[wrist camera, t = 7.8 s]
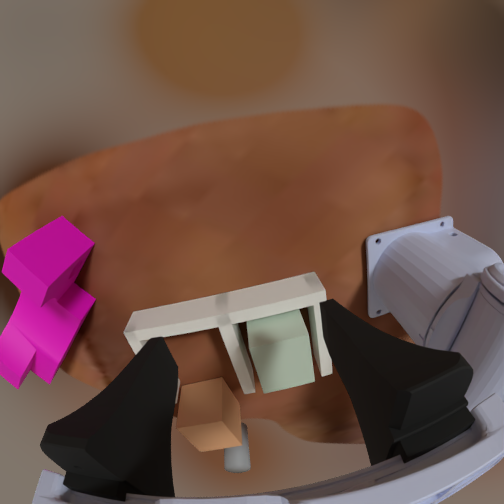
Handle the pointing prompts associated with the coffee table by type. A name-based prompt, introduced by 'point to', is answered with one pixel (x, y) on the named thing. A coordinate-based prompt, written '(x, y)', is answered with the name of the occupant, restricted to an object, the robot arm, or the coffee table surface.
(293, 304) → the rack
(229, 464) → the handled block
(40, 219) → the coffee table surface
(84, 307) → the toy block
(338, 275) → the coffee table surface
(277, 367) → the green block
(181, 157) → the coffee table surface
